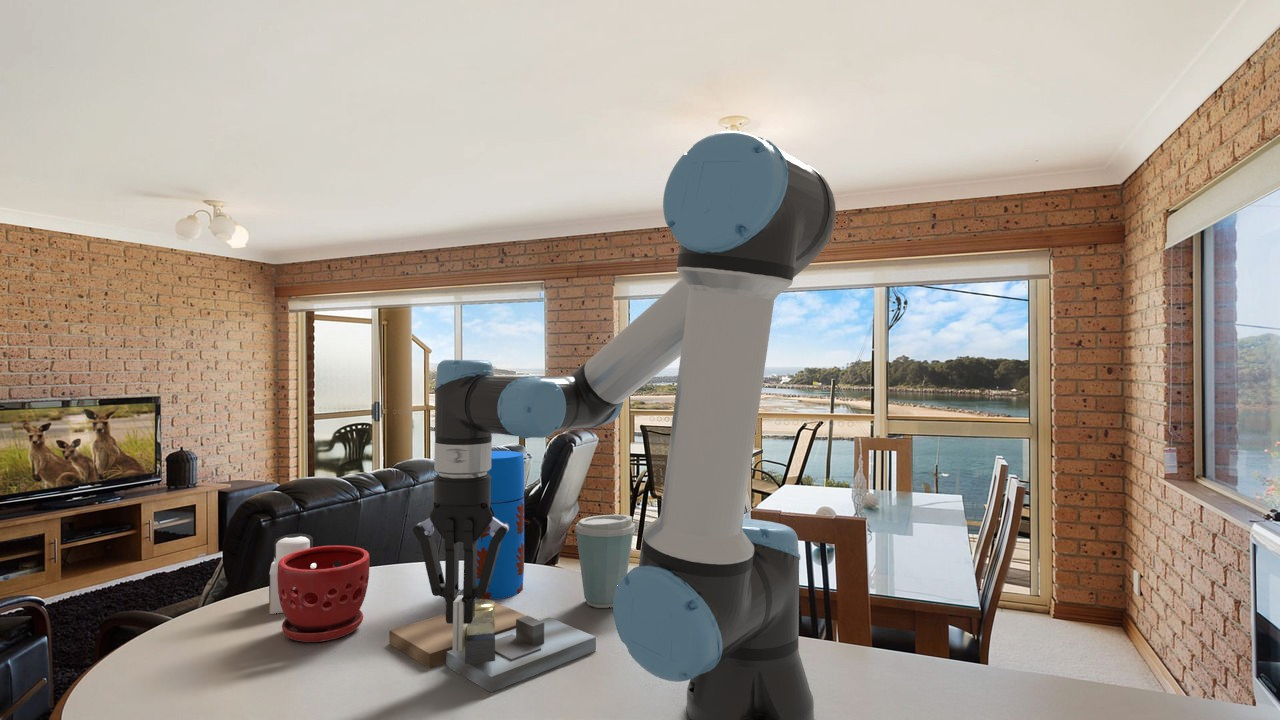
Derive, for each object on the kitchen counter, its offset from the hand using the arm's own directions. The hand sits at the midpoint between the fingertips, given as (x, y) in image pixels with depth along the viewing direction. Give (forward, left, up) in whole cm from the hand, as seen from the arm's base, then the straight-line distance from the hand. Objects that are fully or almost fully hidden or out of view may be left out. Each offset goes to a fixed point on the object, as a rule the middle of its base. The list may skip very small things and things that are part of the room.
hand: (459, 646), depth 95 cm
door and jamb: (+4, -8, -4) cm, 10 cm away
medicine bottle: (+44, +6, -4) cm, 44 cm away
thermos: (+26, -23, -4) cm, 34 cm away
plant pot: (+28, +7, -4) cm, 29 cm away
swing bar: (+1, -4, -1) cm, 4 cm away
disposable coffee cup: (+6, -33, -4) cm, 33 cm away
